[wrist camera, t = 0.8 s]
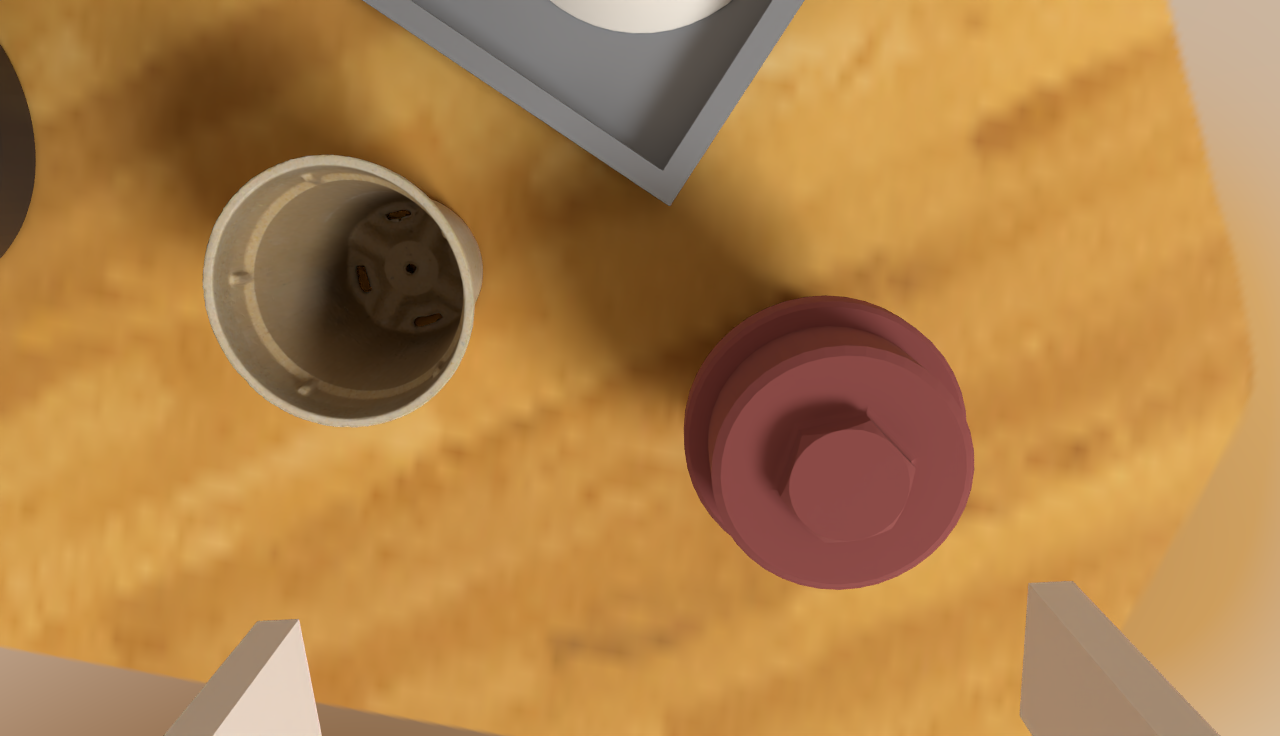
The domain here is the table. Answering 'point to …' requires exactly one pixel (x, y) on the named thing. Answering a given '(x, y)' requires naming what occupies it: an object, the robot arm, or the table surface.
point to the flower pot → (340, 290)
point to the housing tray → (612, 68)
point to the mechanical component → (829, 442)
